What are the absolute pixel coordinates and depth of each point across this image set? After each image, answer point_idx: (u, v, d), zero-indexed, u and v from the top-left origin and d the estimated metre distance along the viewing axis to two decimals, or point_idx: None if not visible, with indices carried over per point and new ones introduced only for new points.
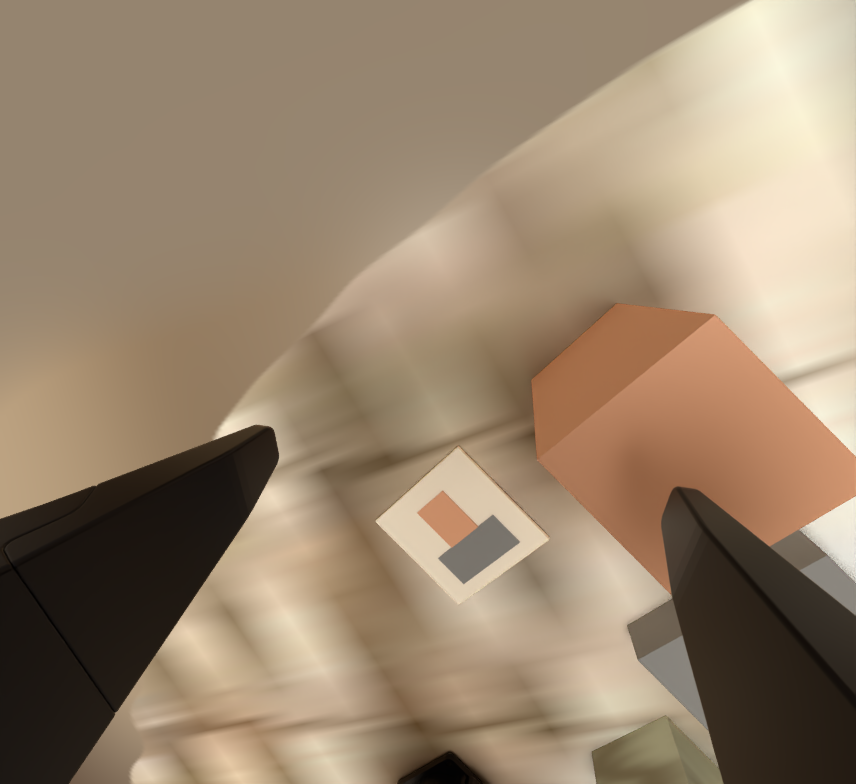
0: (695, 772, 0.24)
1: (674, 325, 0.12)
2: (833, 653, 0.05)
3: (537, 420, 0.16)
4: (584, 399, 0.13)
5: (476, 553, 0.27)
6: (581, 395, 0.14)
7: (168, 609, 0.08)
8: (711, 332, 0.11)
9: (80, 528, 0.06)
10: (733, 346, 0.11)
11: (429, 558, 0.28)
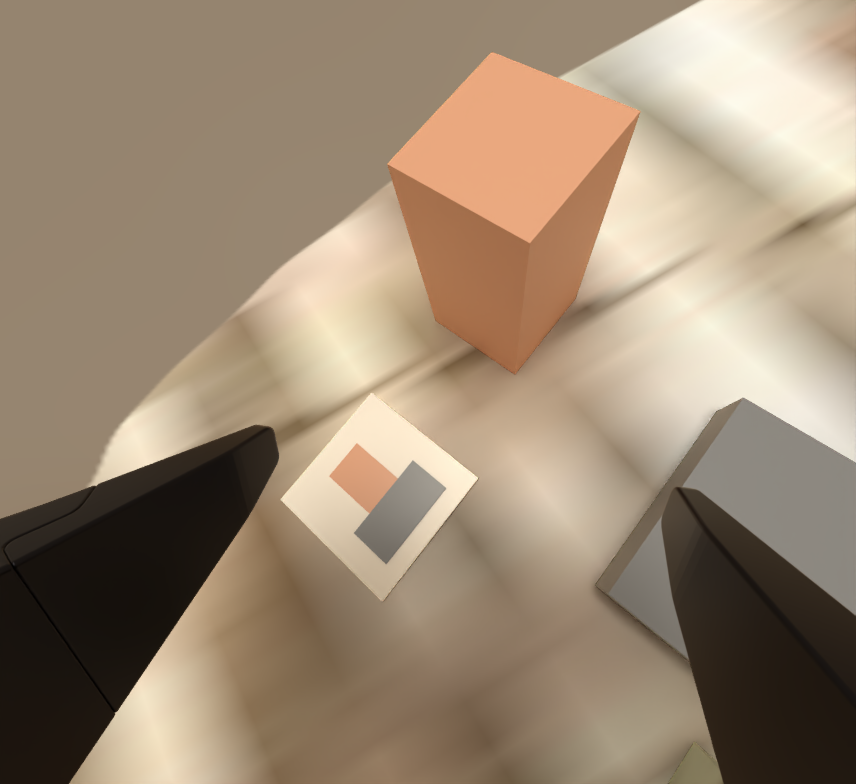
0: None
1: None
2: (834, 653, 0.05)
3: None
4: None
5: (398, 516, 0.22)
6: None
7: (168, 609, 0.08)
8: (492, 60, 0.15)
9: (80, 528, 0.06)
10: (509, 64, 0.15)
11: (343, 536, 0.22)
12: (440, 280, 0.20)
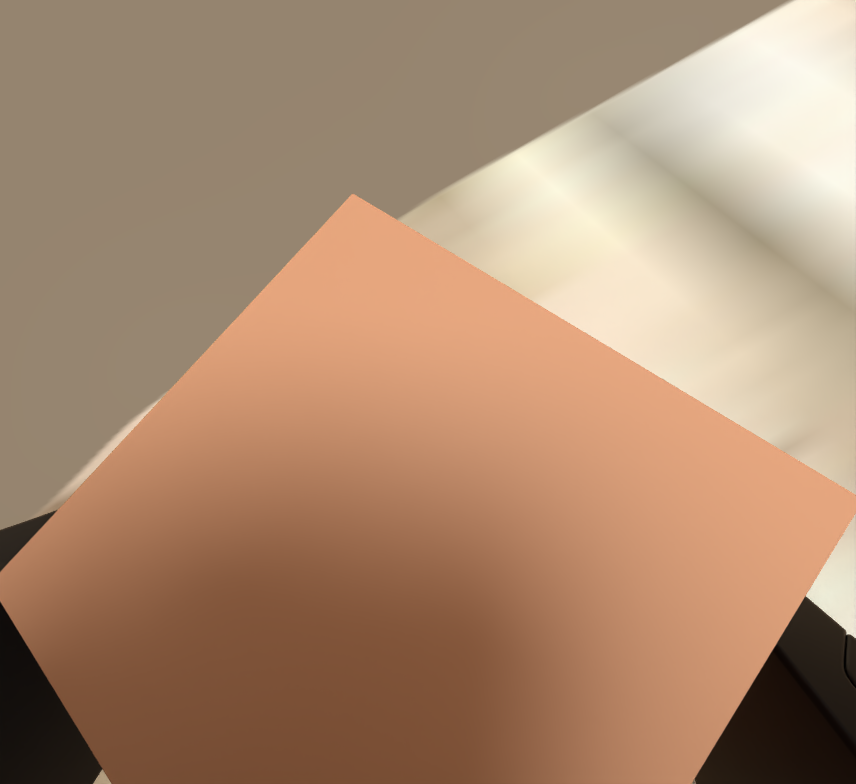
0: None
1: None
2: (794, 645, 0.05)
3: None
4: None
5: None
6: None
7: None
8: (351, 223, 0.05)
9: None
10: (396, 239, 0.05)
11: None
12: None
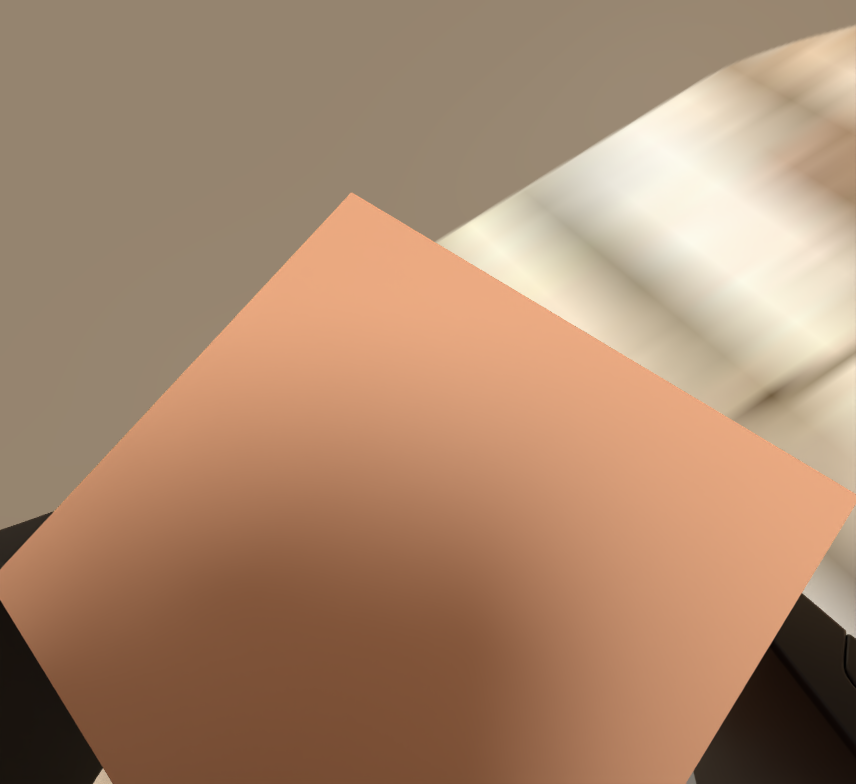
0: None
1: None
2: (793, 645, 0.05)
3: None
4: None
5: None
6: None
7: None
8: (350, 221, 0.05)
9: None
10: (395, 238, 0.05)
11: None
12: None
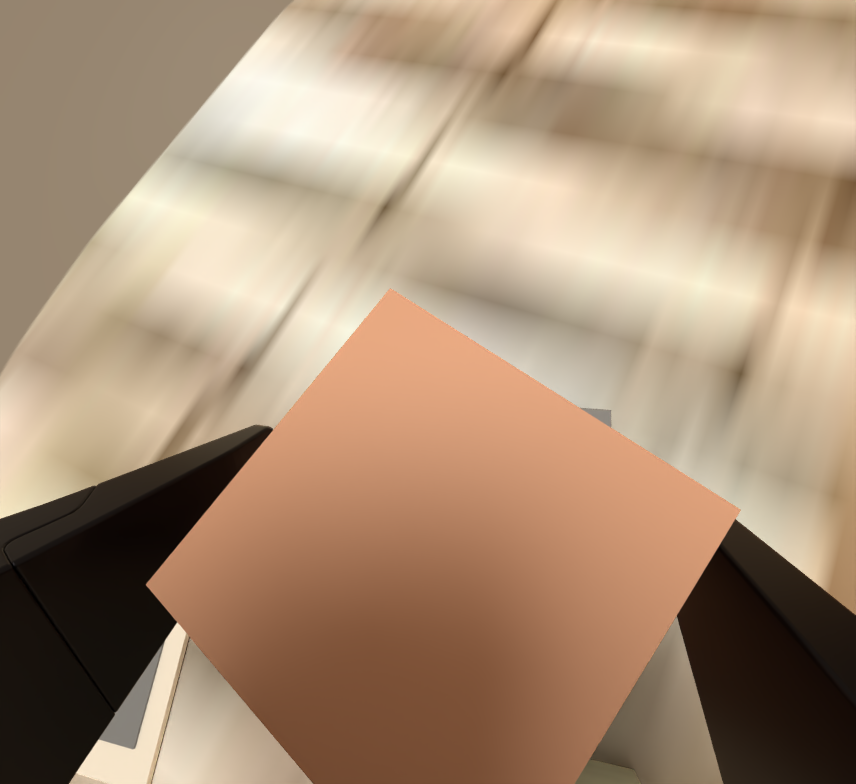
0: None
1: None
2: (834, 653, 0.05)
3: None
4: None
5: None
6: None
7: None
8: (390, 312, 0.07)
9: (80, 528, 0.06)
10: (425, 325, 0.07)
11: None
12: None
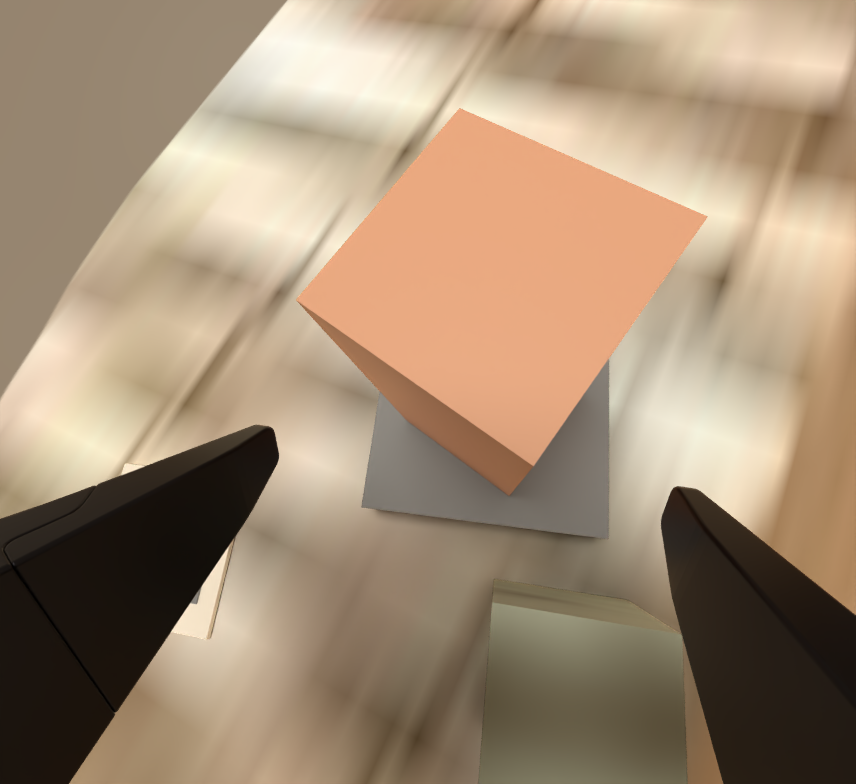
0: (524, 592, 0.17)
1: None
2: (834, 653, 0.05)
3: None
4: None
5: None
6: None
7: (168, 609, 0.08)
8: (461, 122, 0.10)
9: (80, 528, 0.06)
10: (486, 129, 0.10)
11: None
12: (403, 406, 0.14)
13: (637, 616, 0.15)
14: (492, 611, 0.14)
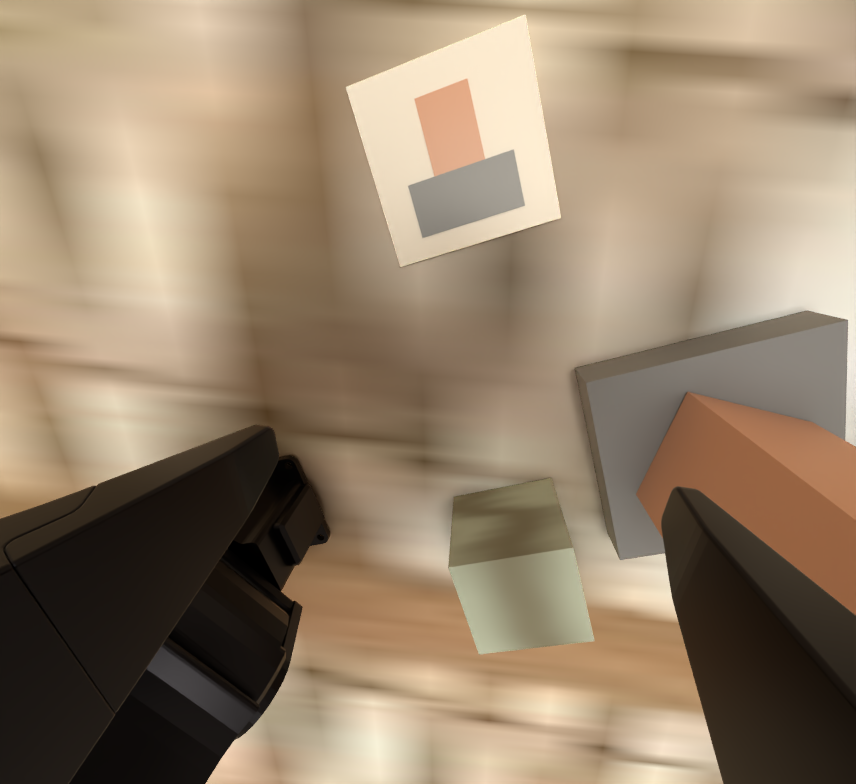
0: None
1: None
2: (833, 653, 0.05)
3: (831, 498, 0.12)
4: None
5: (460, 200, 0.20)
6: None
7: (168, 609, 0.08)
8: None
9: (80, 528, 0.06)
10: None
11: (395, 182, 0.20)
12: (747, 486, 0.15)
13: None
14: (567, 549, 0.19)
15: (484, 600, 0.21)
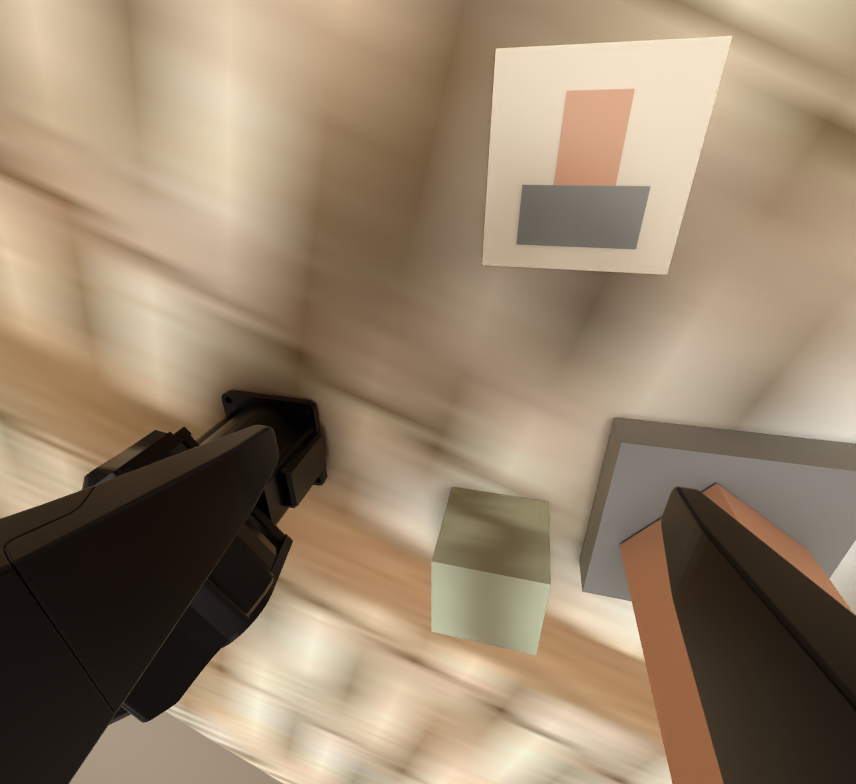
0: None
1: None
2: (834, 653, 0.05)
3: None
4: None
5: (571, 220, 0.18)
6: None
7: (168, 609, 0.08)
8: None
9: (80, 528, 0.06)
10: None
11: (510, 175, 0.18)
12: None
13: None
14: (544, 583, 0.20)
15: (452, 595, 0.22)
